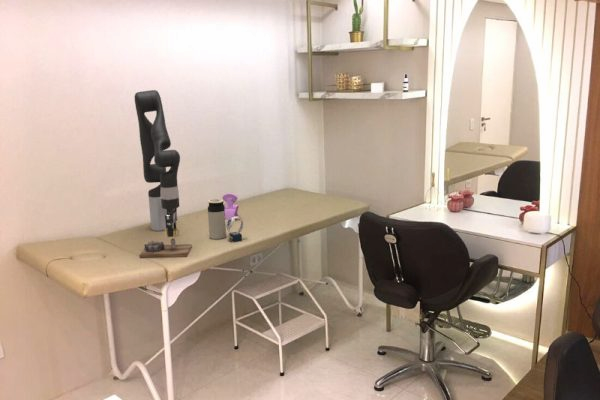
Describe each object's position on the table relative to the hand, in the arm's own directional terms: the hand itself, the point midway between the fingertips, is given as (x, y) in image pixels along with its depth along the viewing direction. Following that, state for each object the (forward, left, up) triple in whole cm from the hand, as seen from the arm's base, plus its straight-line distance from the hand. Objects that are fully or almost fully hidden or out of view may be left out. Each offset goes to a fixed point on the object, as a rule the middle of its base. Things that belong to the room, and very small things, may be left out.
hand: (172, 234), depth 232 cm
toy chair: (-55, +21, -9) cm, 59 cm away
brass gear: (0, 0, -1) cm, 1 cm away
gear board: (0, -3, -8) cm, 9 cm away
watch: (-16, +26, -9) cm, 32 cm away
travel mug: (-22, +17, -9) cm, 29 cm away
